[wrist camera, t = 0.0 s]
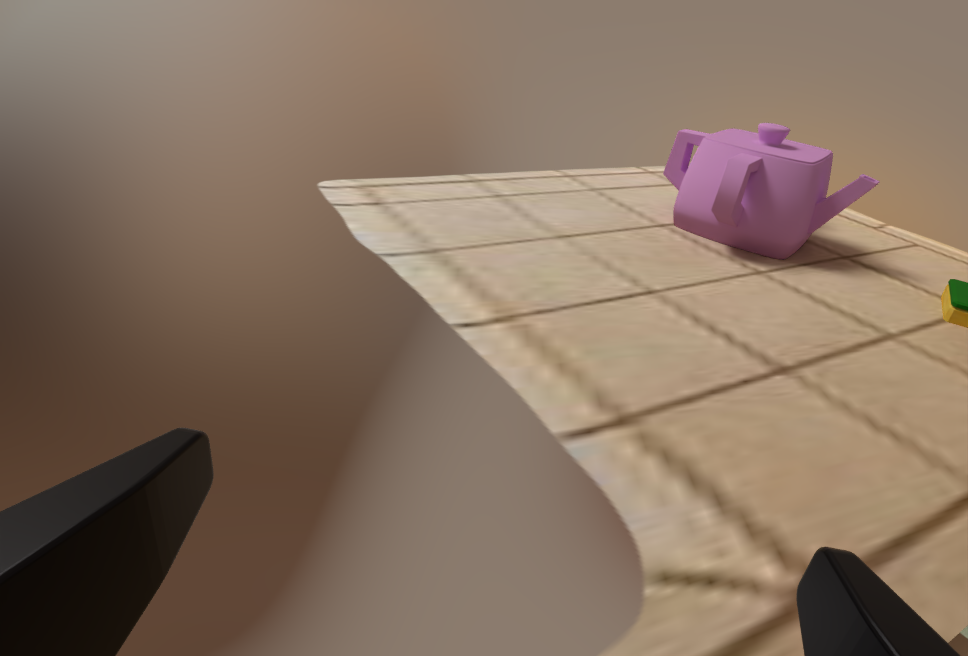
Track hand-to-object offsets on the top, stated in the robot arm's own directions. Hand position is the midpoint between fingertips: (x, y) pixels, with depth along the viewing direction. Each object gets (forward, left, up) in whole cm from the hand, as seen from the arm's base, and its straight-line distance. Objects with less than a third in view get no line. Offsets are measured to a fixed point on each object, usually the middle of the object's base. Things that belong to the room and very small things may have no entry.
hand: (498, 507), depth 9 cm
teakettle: (+68, -23, -17) cm, 73 cm away
